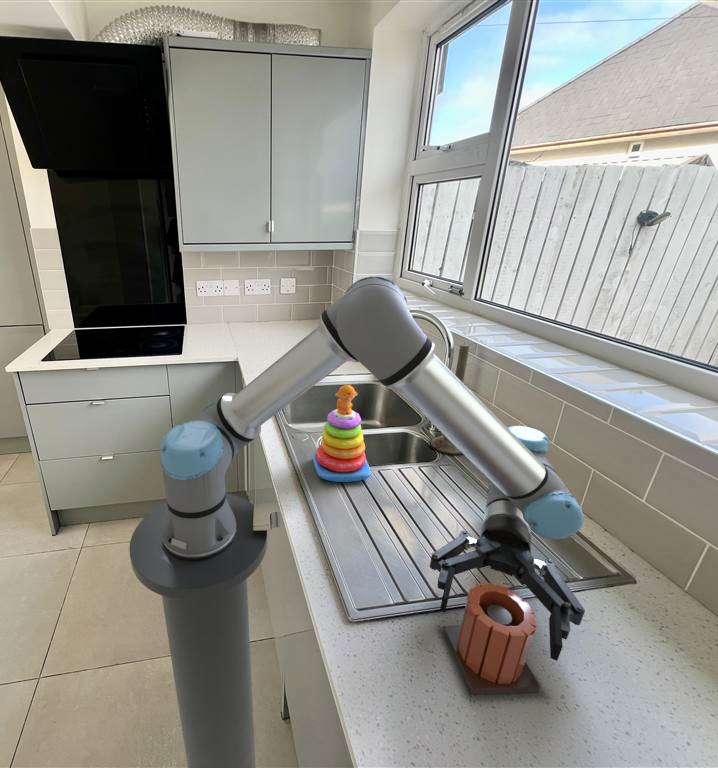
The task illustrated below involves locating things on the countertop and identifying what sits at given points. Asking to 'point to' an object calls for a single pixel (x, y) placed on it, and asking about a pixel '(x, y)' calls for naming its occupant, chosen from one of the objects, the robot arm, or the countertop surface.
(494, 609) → the ring holder
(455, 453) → the candlestick holder
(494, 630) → the ring
